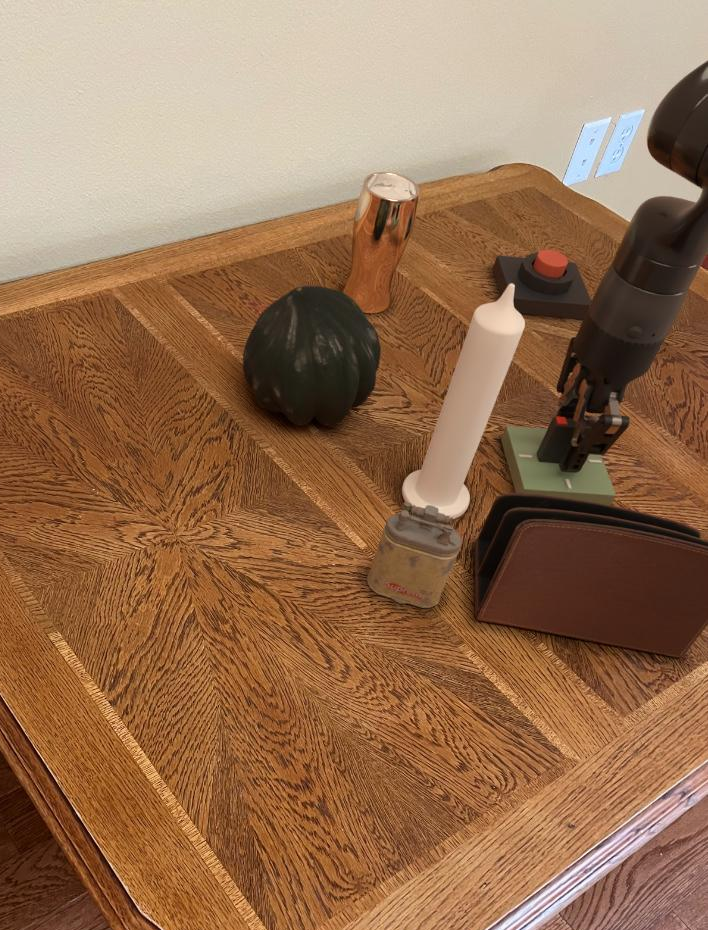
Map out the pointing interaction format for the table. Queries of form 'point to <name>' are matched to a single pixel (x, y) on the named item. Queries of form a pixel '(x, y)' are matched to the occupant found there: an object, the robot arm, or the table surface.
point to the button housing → (542, 288)
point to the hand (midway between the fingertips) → (562, 453)
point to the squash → (312, 356)
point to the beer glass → (380, 237)
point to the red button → (550, 263)
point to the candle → (467, 407)
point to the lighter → (414, 556)
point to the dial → (557, 439)
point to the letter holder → (592, 573)
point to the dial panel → (552, 470)
